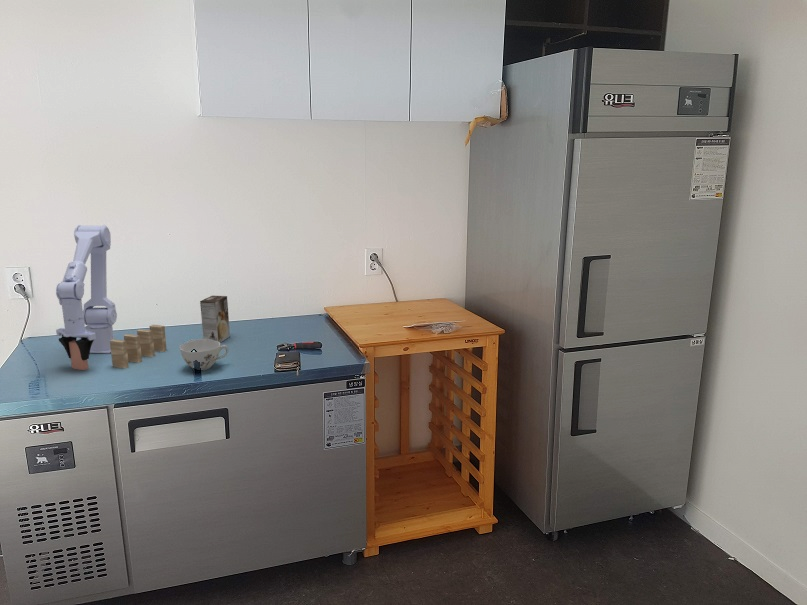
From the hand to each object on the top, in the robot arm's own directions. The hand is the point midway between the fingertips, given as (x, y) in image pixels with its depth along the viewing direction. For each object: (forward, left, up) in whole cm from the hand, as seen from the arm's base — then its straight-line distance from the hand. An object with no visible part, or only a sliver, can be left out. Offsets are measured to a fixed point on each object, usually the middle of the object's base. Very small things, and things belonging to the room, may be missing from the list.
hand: (79, 358), depth 202 cm
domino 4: (+18, +19, -3) cm, 27 cm away
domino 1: (+12, +2, -3) cm, 13 cm away
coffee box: (+34, +32, -4) cm, 47 cm away
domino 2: (+14, +8, -3) cm, 17 cm away
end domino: (0, 0, -3) cm, 3 cm away
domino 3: (+16, +14, -3) cm, 21 cm away
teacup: (+40, +3, -4) cm, 41 cm away
